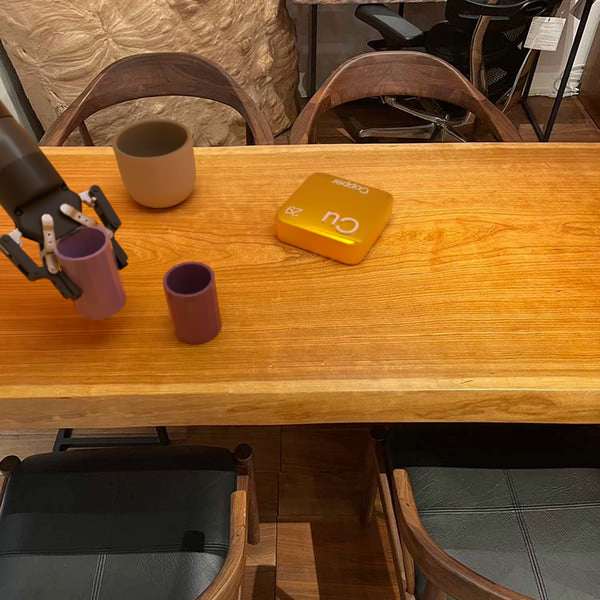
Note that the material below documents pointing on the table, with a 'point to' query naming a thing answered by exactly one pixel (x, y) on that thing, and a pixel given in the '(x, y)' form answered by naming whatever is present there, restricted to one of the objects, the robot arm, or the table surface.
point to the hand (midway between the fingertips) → (101, 282)
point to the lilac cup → (92, 272)
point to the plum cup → (192, 302)
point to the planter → (156, 161)
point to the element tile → (334, 217)
